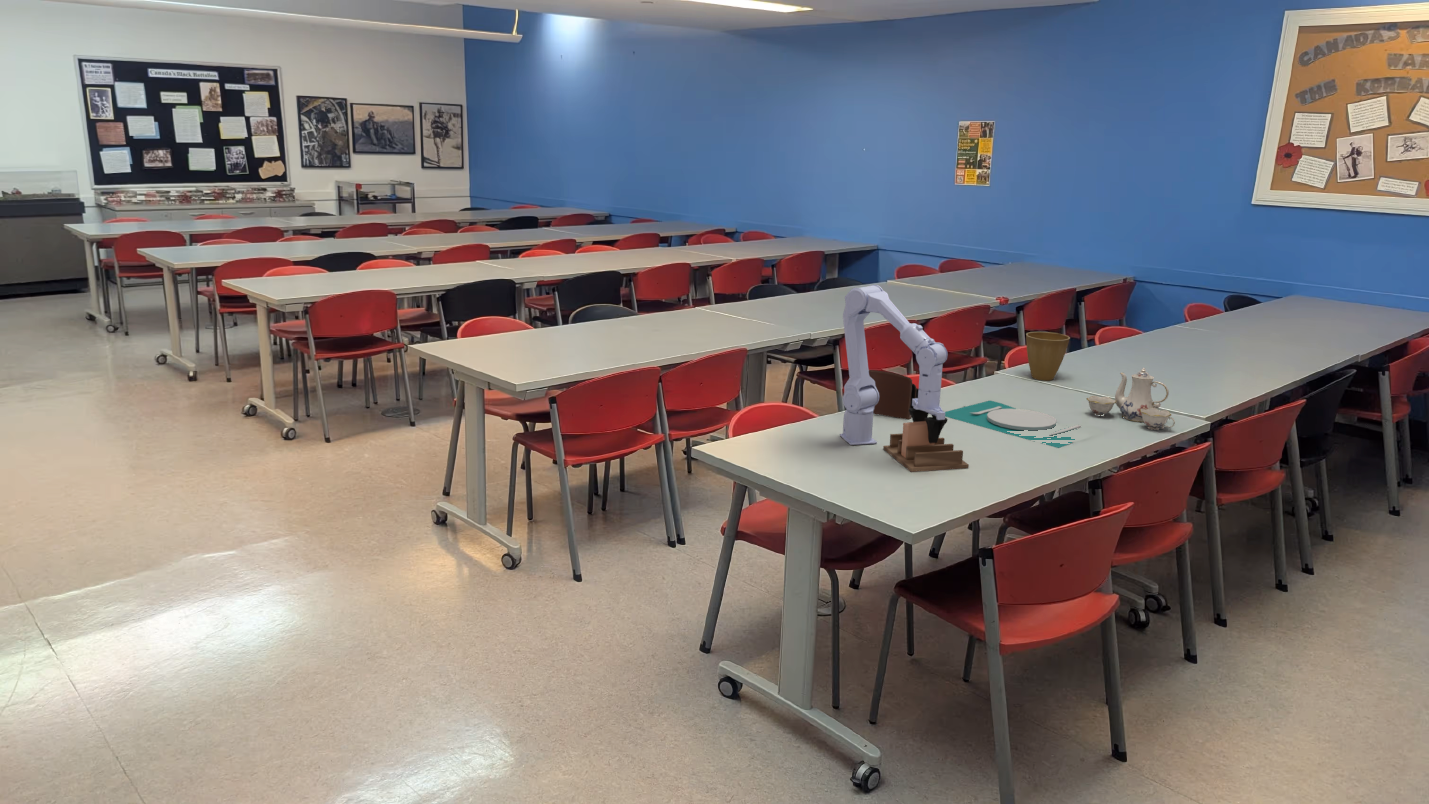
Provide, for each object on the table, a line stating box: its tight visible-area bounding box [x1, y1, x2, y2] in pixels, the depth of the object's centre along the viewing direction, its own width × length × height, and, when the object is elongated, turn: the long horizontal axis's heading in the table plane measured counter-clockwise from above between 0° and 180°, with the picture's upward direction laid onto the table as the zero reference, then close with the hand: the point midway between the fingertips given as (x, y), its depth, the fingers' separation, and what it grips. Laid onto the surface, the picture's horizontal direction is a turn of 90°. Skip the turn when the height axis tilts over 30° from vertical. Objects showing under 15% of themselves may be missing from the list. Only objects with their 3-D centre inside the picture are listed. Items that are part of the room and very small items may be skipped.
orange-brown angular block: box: [901, 421, 934, 458], centre depth 244 cm, size 3×8×9 cm, turn 105°
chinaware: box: [1085, 367, 1176, 431], centre depth 282 cm, size 28×17×17 cm, turn 43°
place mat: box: [944, 400, 1082, 449], centre depth 280 cm, size 45×30×2 cm
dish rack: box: [882, 432, 970, 473], centre depth 246 cm, size 19×16×4 cm
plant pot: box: [1025, 331, 1071, 382], centre depth 333 cm, size 15×15×16 cm
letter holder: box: [869, 369, 919, 420], centre depth 289 cm, size 10×20×14 cm, turn 59°
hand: (926, 438), depth 245 cm, fingers open, 7 cm apart
